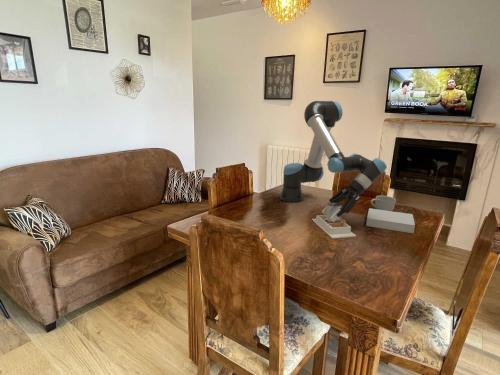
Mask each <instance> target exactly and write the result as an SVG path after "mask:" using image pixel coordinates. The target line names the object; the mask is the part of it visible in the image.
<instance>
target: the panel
mask: <svg viewBox="0 0 500 375" xmlns="http://www.w3.org/2000/svg"><path fill="white" fill-rule="evenodd" d="M326 206H327V214H326V215H327V216H326V222H327V223H338V222H340V218H341V216H340V217H339V218H338V219H337V220H336V221H335V222H333V221H332V220H331V219H330V218H331V217H332V216H333V215H334V214H335V213H336V212H337V211H338V210H339V209H340V208H342V206H343V204H342V203H340V202H337V203H330V202H327V205H326ZM340 210H341V209H340Z"/></svg>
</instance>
